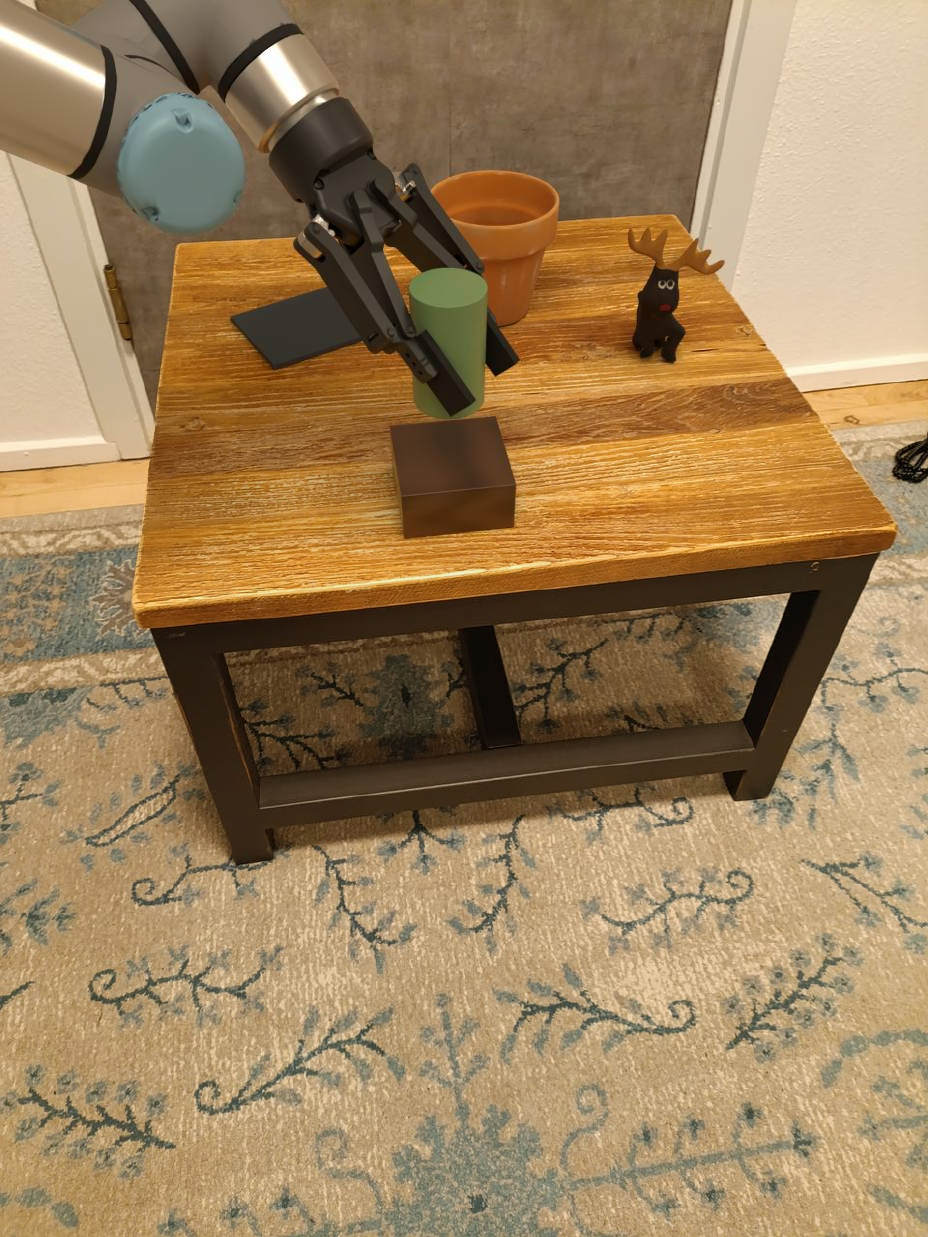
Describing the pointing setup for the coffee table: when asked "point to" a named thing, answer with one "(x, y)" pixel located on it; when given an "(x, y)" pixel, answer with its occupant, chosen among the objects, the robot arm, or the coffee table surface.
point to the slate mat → (297, 328)
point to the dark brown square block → (452, 477)
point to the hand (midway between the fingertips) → (485, 387)
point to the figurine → (663, 295)
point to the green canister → (451, 331)
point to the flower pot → (503, 231)
